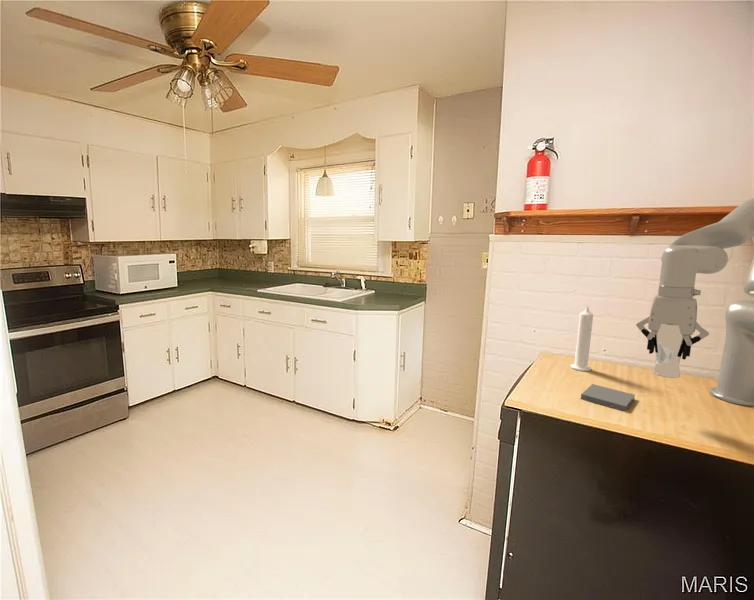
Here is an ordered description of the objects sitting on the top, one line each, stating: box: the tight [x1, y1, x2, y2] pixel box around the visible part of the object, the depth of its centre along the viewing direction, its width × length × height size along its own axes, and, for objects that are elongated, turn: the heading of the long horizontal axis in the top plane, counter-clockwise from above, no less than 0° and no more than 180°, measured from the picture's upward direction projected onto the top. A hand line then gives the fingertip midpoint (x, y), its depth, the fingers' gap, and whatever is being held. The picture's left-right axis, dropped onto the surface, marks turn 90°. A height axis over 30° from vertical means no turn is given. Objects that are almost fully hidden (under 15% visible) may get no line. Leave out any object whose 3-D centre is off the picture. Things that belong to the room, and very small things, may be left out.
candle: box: [570, 305, 594, 372], centre depth 144 cm, size 7×7×25 cm
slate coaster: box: [580, 383, 636, 412], centre depth 118 cm, size 12×12×2 cm
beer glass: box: [652, 323, 685, 379], centre depth 105 cm, size 7×7×15 cm
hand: (667, 354), depth 105 cm, fingers closed on beer glass, 6 cm apart
